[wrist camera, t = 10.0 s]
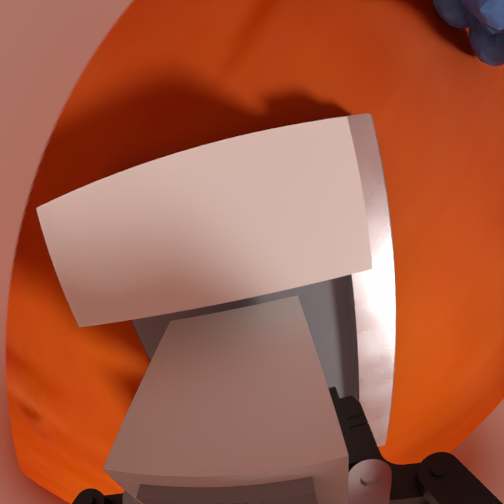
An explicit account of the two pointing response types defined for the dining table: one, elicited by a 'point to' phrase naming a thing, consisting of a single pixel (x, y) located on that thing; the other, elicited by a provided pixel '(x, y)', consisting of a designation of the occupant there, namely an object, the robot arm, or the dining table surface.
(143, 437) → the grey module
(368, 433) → the robot arm
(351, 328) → the rail board
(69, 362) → the dining table surface
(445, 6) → the grapes
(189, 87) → the dining table surface
